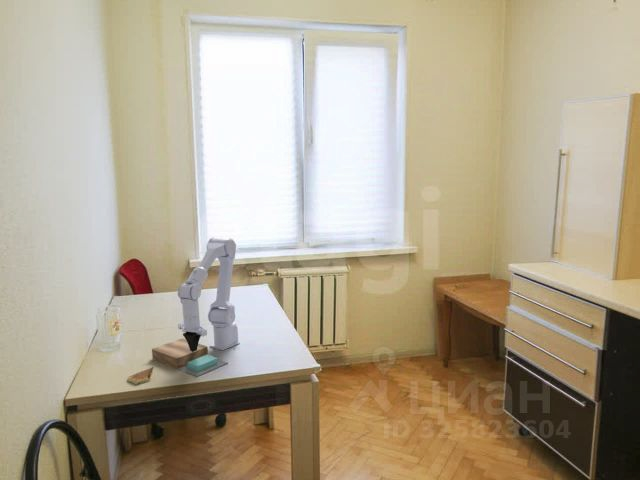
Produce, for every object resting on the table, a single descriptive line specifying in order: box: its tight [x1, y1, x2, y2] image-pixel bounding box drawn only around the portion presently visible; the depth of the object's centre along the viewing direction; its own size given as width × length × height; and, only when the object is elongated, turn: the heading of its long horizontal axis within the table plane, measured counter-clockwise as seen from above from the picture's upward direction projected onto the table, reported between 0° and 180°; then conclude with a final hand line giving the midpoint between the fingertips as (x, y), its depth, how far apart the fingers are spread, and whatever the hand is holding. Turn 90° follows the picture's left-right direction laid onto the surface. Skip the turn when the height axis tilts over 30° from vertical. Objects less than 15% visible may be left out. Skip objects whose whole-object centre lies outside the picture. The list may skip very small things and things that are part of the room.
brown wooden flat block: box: [151, 337, 209, 370], centre depth 192 cm, size 14×16×4 cm
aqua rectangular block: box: [187, 354, 219, 371], centre depth 183 cm, size 9×6×2 cm, turn 141°
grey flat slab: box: [177, 358, 229, 378], centre depth 183 cm, size 14×11×1 cm
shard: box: [126, 366, 154, 385], centre depth 176 cm, size 11×8×2 cm
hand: (193, 350), depth 186 cm, fingers closed
